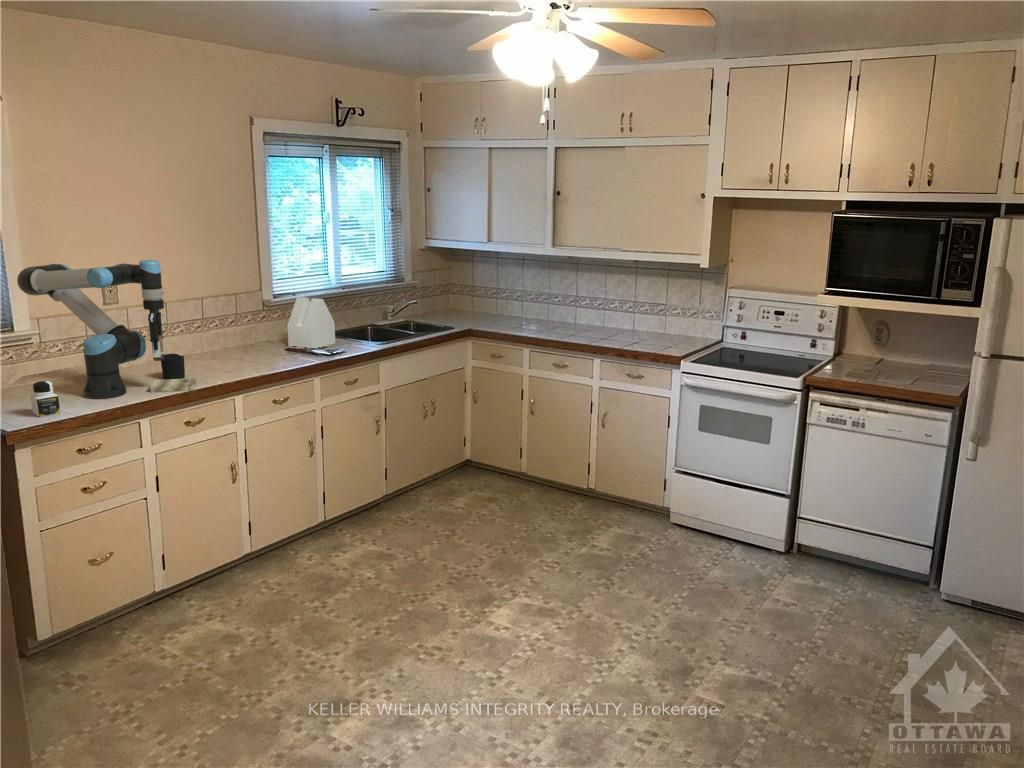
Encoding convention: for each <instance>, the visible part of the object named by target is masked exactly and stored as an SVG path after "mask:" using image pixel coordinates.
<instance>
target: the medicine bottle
mask: <svg viewBox="0 0 1024 768" xmlns="http://www.w3.org/2000/svg"><path fill="white" fill-rule="evenodd" d="M32 388H33V394H31V395H30V396H29V397H30V403H31V408H32V409H31V410H32V414H33V413H34V414H33V415H35V416H37V417H38V416H39V418H41V417H40V416H44V417H47V416H46V415H49V416H53V415H52V414H55V415H58V414H57V413H60V414H61V407H60V399H59V395H58V394H56V393H55V392H54V387H53V382H51V381H50V380H49V381H48V380H42V381H41V380H40V381H36V382H35V383H33V384H32Z"/></svg>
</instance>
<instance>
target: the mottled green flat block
mask: <svg viewBox="0 0 1024 768" xmlns="http://www.w3.org/2000/svg"><path fill="white" fill-rule="evenodd" d="M196 386H197V380H196V378H194V377H193V378H183V379H166V380H165V379H154V380H153V381H152V383H151V384H150V386H149V387H150V393H163V392H162V391H173V392H190V391H191V392H193V391H194V390H195V388H196ZM194 387H195V388H194ZM193 389H194V390H193Z"/></svg>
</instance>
